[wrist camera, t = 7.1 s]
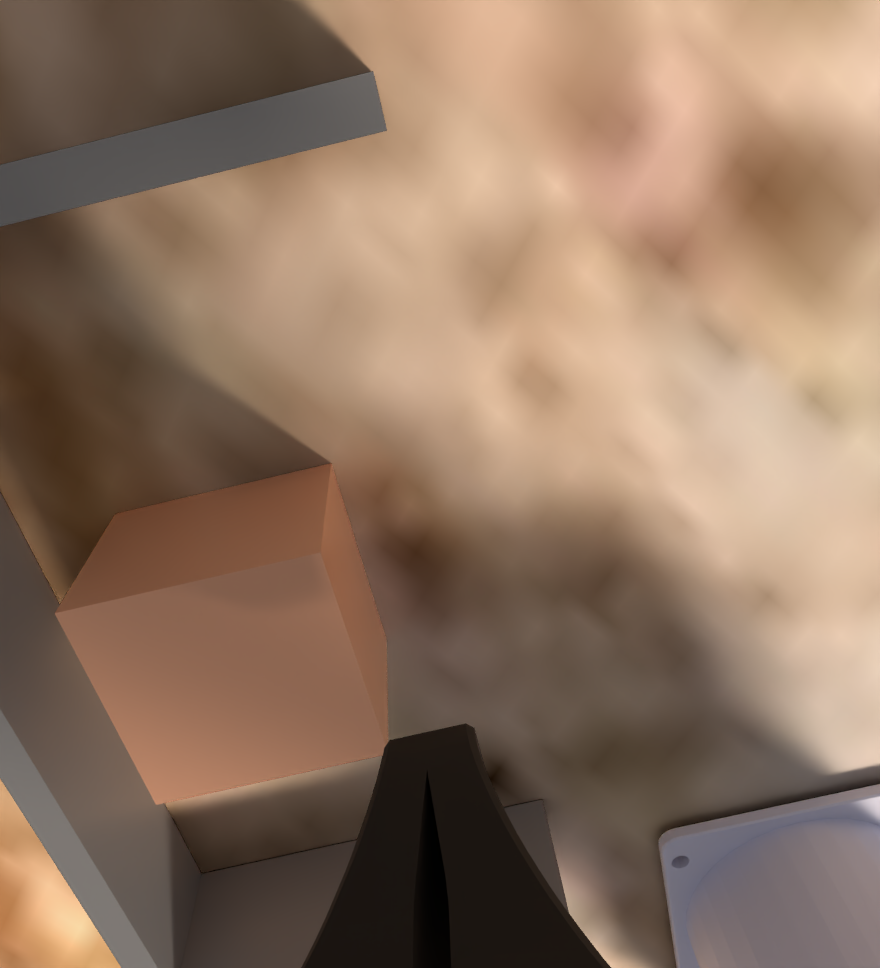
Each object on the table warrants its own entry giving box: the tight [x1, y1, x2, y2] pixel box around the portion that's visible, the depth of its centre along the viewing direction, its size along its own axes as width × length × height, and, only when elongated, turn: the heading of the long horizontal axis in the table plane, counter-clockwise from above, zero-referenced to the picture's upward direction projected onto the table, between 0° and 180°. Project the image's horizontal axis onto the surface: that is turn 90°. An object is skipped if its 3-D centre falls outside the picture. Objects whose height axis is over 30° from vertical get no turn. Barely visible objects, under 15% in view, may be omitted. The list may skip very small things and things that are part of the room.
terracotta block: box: [55, 463, 388, 805], centre depth 18 cm, size 5×5×4 cm
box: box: [0, 71, 569, 968], centre depth 18 cm, size 20×11×4 cm, turn 13°
